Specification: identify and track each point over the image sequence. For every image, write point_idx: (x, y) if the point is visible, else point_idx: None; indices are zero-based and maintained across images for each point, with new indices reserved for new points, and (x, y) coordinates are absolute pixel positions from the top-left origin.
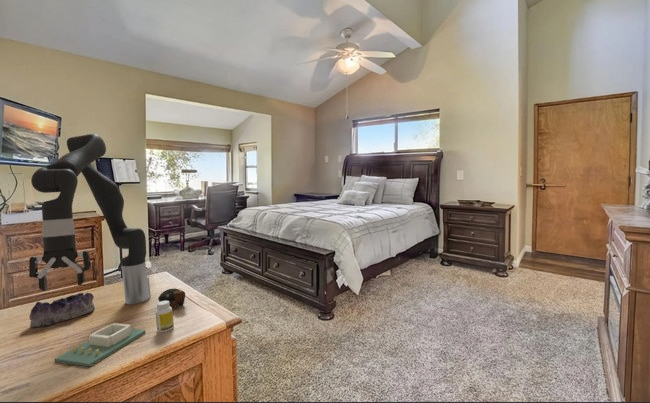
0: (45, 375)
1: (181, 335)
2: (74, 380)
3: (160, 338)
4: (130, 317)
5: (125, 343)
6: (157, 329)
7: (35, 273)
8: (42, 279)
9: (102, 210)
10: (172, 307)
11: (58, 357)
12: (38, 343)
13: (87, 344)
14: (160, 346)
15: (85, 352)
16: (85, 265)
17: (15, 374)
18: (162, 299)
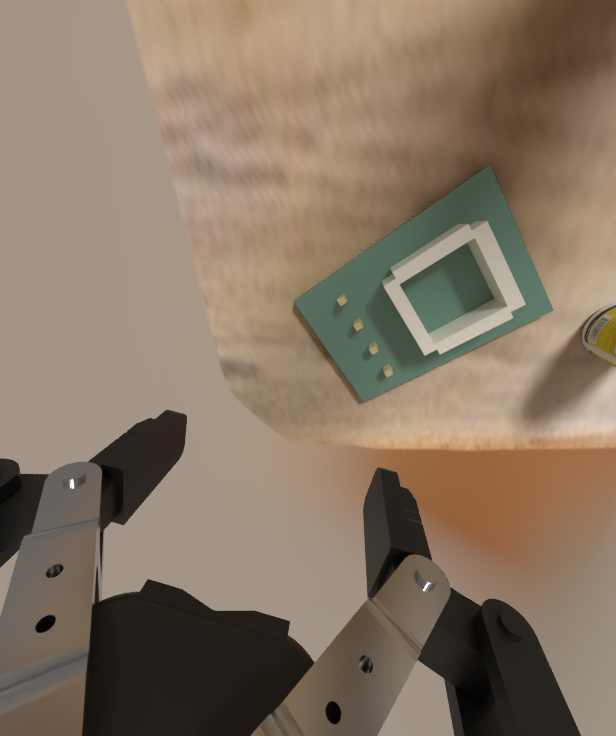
0: (281, 359)
1: (607, 415)
2: (332, 427)
3: (554, 385)
4: (605, 29)
5: (465, 350)
6: (585, 333)
7: (5, 548)
8: (118, 517)
9: None
10: None
11: (301, 303)
12: (232, 67)
13: (375, 272)
14: (525, 429)
15: (363, 330)
16: (465, 731)
17: (219, 298)
18: None
